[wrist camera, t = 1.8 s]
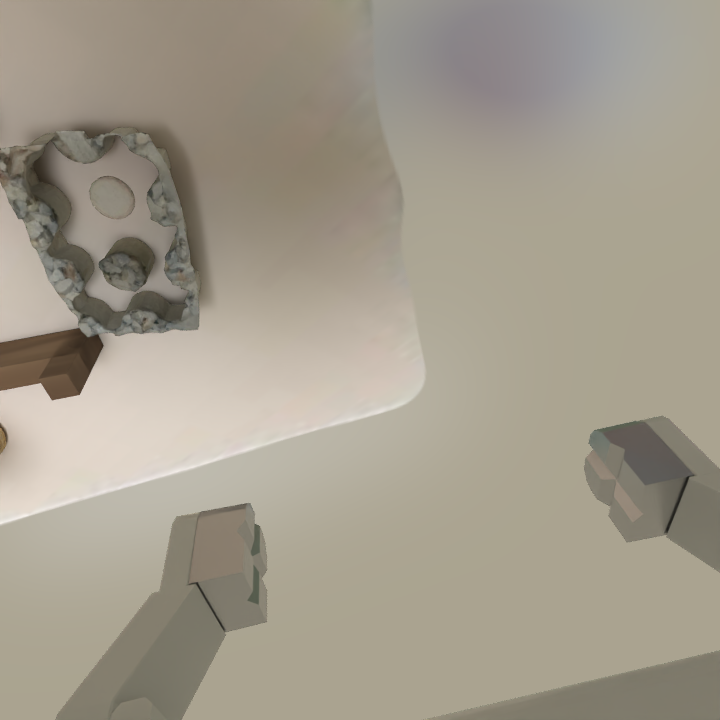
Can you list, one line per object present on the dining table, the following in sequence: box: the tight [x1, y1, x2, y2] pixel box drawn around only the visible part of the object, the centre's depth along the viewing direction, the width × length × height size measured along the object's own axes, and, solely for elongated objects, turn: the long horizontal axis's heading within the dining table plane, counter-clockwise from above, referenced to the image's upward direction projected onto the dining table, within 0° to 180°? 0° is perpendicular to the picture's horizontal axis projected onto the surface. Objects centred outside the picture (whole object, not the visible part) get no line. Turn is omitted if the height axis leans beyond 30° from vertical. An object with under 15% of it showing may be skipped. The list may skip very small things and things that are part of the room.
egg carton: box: [0, 127, 201, 337], centre depth 26 cm, size 11×8×4 cm
